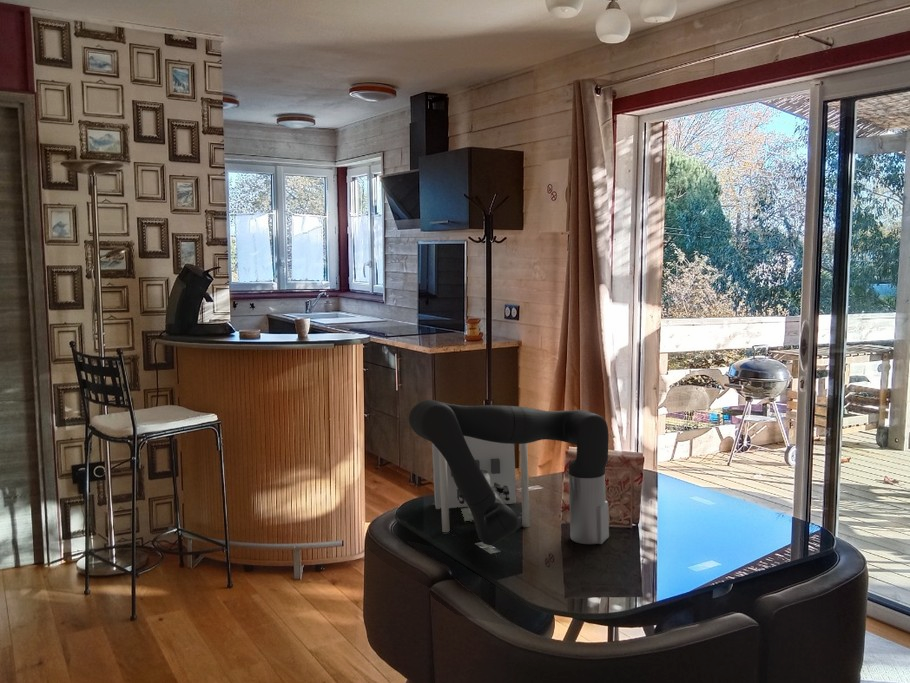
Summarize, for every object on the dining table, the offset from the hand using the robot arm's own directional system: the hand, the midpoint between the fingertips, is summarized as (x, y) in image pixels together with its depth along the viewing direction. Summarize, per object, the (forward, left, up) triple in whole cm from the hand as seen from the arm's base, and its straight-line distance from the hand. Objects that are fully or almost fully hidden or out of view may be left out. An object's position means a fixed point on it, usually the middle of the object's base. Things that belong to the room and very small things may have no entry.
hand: (480, 486), depth 223 cm
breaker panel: (+7, -9, -8) cm, 14 cm away
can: (+1, 0, -8) cm, 8 cm away
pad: (+1, -1, -8) cm, 8 cm away
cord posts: (-6, +9, -8) cm, 14 cm away
